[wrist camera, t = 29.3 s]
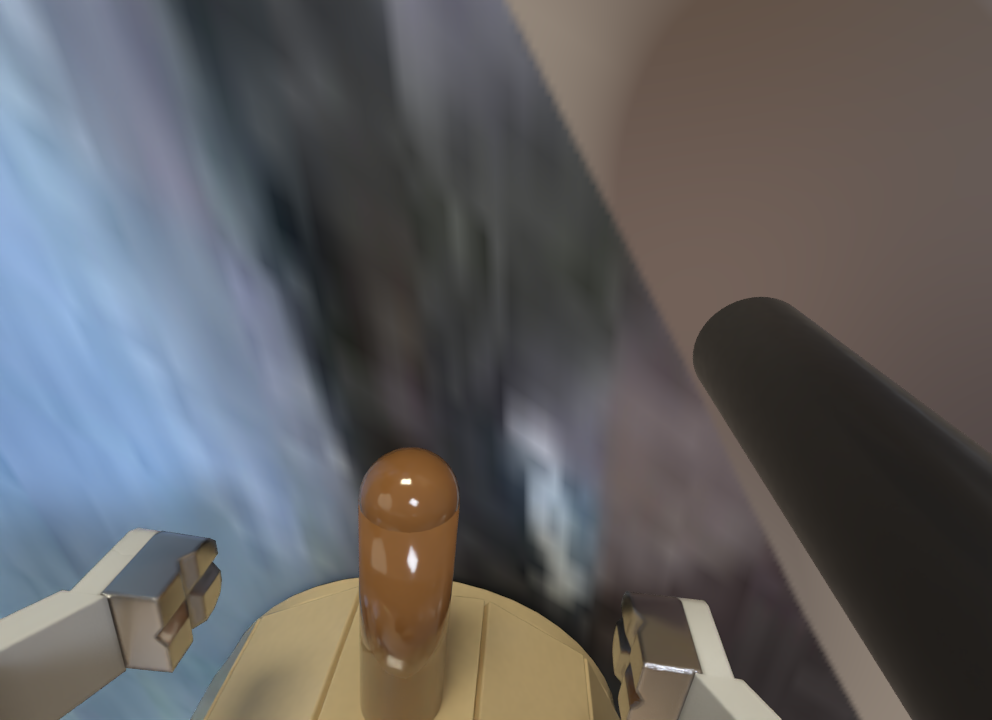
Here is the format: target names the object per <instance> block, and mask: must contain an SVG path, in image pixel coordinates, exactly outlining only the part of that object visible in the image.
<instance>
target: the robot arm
mask: <svg viewBox="0 0 992 720" xmlns="http://www.w3.org/2000/svg"><path fill="white" fill-rule="evenodd" d="M217 554H218V551H217V546H216V541H215V540H213V539H210V538H205V537H198V536H192V535H185V534H179V533H172V532H166V531H157V530H150V529H144V528H136V529H134V530H131V531H129V532H128V533H127V534H126V535H125V536H124V537H123V538H122V539H121V540H120V541H119V542H118V543H117V544H116V545H115V546H114V547H113V548H112V549H111V550H110V551H109V552H108V553H107V554H106V555H105V556H104V557H103V558H102V559H101V560H100V561H99V562H98V563H97V564H96V565H95V566H94V567H93V568H92V569H91V570H90V571H89V572H88V573H87V574H86V575H85V576H84V577H83V578H82V579H81V580H80V581H79V582H78V583H77V584H76V585H75V586H74V587H73V588H72V589H71V590H70V591H66V590H61V591H59V592H57V593H55V594H53V595H51V596H48V597H46V598H44V599H42V600H40V601H38V602H36V603H34V604H32V605H29V606H27V607H25V608H23V609H21V610H19V611H17V612H15V613H12V614H10V615H8V616H6V617H4V618H2V619H0V720H59V719H60V718H62V717H63V716H64V715H66V714H67V713H69V712H70V711H71V710H73V709H74V708H75V707H77V706H78V705H80V704H81V703H82V702H84V701H85V700H86V699H88V698H89V697H91V696H92V695H93V694H95V693H96V692H97V691H99V690H100V689H102V688H103V687H104V686H106V685H107V684H108V683H110V682H111V681H112V680H114V679H115V678H117V677H118V676H119V675H121V674H122V673H123V672H125V671H126V668H132V669H142V670H152V671H161V672H171V673H172V672H173V671H174V669H175V668H176V666H177V665H178V663H179V662H180V660H181V659H182V657H183V656H184V654H185V653H186V651H187V649H188V648H189V646H190V645H191V643H192V642H193V634H192V629H194V628H195V627H197V626H198V625H200V624H202V623H203V622H205V621H207V619H208V617H209V616H210V614H211V613H212V611H213V609H214V608H215V605H216V603H217V600H218V597H219V594H220V591H221V582H222V579H221V571H220V569H219V568H218V567H217V566H216V565H215V564H214V563H213V562H212V561H213V560H214V558H215V557H216V556H217ZM621 609H622V615H623V618H621V619H620V620H619V621H617V622H616V627H615V631H614V636H613V649H612V651H613V666H614V674H615V676H616V677H617V678H618V679H619V681H620V682H621V683H622V684H621V687H620V691H619V694H618V703H619V709H620V716H621V720H782V719H781V718H780V717H779V716H778V715H777V714H776V713H775V712H774V711H773V710H772V709H771V708H770V707H769V706H768V705H767V704H766V703H765V702H764V701H763V700H762V699H761V698H760V697H759V696H758V695H757V694H756V693H755V692H754V691H753V690H752V689H751V688H750V687H749V686H748V685H747V684H746V683H745V682H744V681H743V680H741V679H735V678H734V676H733V673H732V670H731V667H730V665H729V662H728V659H727V656H726V653H725V651H724V648H723V645H722V642H721V639H720V637H719V634H718V631H717V628H716V625H715V623H714V620H713V617H712V614H711V611H710V609H709V606H708V604H707V603H706V602H705V601H703V600H695V599H686V598H676V597H670V596H661V595H653V594H644V593H636V592H626V593H625V595H624V597H623V600H622V604H621Z"/></svg>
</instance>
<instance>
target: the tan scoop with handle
mask: <svg viewBox="0 0 992 720" xmlns="http://www.w3.org/2000/svg"><path fill="white" fill-rule="evenodd" d="M459 504H460V490H459V486H458V482H457V479H456V476H455V474H454V472H453V471H452V469H451V467H450V466H449V465H448V464H447V463H446V462H445V461H444V460H443V459H442V458H441V457H440V456H438V455H437V454H435V453H433V452H431V451H429V450H426V449H423V448H418V447H404V448H399V449H396V450H393V451H391V452H389V453H386V454H385V455H383V456H382V457H380V458H379V459H378V460H377V461H376V462H375V463H374V464H372V466H371V467H370V468H369V470H368V471H367V473H366V474H365V476H364V478H363V481H362V483H361V487H360V490H359V499H358V523H359V578H351V579H344V580H339V581H336V582H332V583H328V584H324V585H320V586H316V587H314V588H311V589H309V590H306V591H303V592H301V593H298V594H296V595H294V596H292V597H290V598H288V599H286V600H285V601H283V602H281V603H279V604H277V605H276V606H274V607H273V608H271V609H270V610H269V611H268V612H266V613H265V614H264V615H262V616H261V617H260V618H259V619H257V620H256V621H255V622H254V623H253V624H252V626H251V627H250V628H249V629H248V630H247V631H246V632H245V633H244V634H243V636H242V638H241V639H240V641H239V642H238V644H237V646H236V647H235V649H234V651H233V652H232V654H231V655H230V657H229V658H228V659H227V661H226V662H225V663H224V665H223V666H222V667H221V669H220V670H219V671H218V673H217V674H216V675H215V676H214V678H213V680H212V681H211V683H210V685H209V687H208V688H207V690H206V692H205V694H204V696H203V697H202V699H201V701H200V703H199V704H198V706H197V708H196V710H195V711H194V713H193V715H192V717H191V719H190V720H620V718H619V717H618V715H617V713H616V710H615V706H614V701H613V697H612V694H611V692H610V689H609V687H608V685H607V682H606V680H605V678H604V676H603V675H602V673H601V672H600V670H599V669H598V667H597V666H596V664H595V662H594V661H593V659H592V658H591V657H590V656H589V655H588V654H587V653H586V652H585V650H584V649H583V648H582V647H581V646H580V645H579V644H578V643H577V642H576V641H575V640H574V639H573V638H572V637H570V636H569V635H568V634H567V633H566V632H564V631H563V630H562V629H561V628H560V627H559V626H557V625H556V624H554V623H552V622H551V621H549V620H548V619H546V618H545V617H543V616H542V615H540V614H539V613H537V612H535V611H533V610H531V609H529V608H527V607H526V606H524V605H522V604H520V603H518V602H516V601H514V600H511V599H509V598H506V597H504V596H501V595H498V594H496V593H493V592H491V591H488V590H485V589H481V588H478V587H474V586H470V585H467V584H463V583H459V582H454V581H453V573H454V561H455V550H456V538H457V527H458V515H459Z"/></svg>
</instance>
